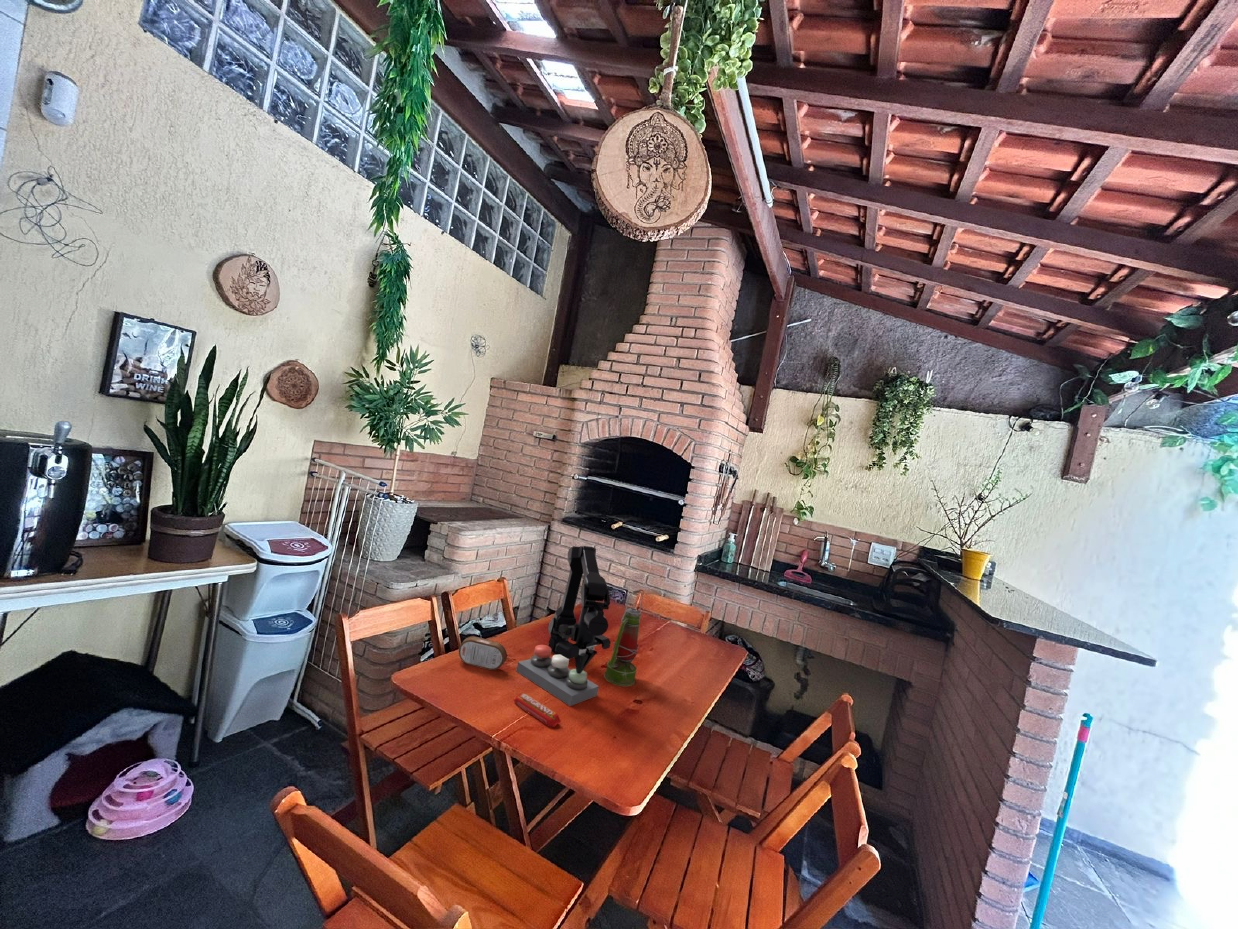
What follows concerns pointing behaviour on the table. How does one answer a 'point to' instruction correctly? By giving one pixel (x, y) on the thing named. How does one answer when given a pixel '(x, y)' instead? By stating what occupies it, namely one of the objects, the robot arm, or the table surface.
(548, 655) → the red button
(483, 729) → the table surface
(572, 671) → the green button
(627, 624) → the lantern
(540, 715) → the candy bar
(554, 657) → the white button
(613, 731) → the table surface
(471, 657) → the tin
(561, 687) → the button panel
